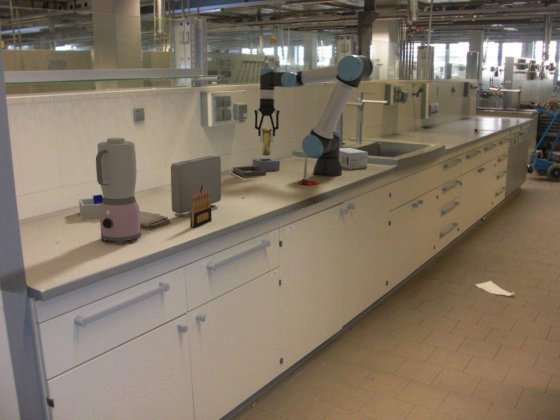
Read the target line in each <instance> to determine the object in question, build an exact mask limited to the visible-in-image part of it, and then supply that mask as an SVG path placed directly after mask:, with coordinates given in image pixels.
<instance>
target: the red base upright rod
mask: <svg viewBox="0 0 560 420" xmlns="http://www.w3.org/2000/svg"><path fill="white" fill-rule="evenodd" d="M303 167H304V169H303V178H302V179H301V180H298V181H297V184H298V185H303V186H311V185H315V186H316V185H318V184H319V182H318V181H316V180H310V179H309V180H308V179H307V176H308V175H307V171H308V169H307V168H308V158H307V157H306V158H304V165H303Z"/></svg>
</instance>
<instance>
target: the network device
mask: <svg viewBox="0 0 560 420" xmlns="http://www.w3.org/2000/svg"><path fill="white" fill-rule="evenodd" d="M221 162H222V160H221V156H217V155H207V156H201V157H196V158H192V159H187V160H181V161H177V162H173V163H171V165H170V183H171V184H170V186H171V187H170V188H171V189H170V190H171V191H170V192H171V211H172V212H173V213H175V214H174V215H175V216H177V217H182V218H190V214H185V213H188V212H191V204H192V195H193V193H194V195H195V194H196V192H197V194H198V192H199V191H200V194H201V191H203V193H204V190H206V192H207V189H208V190H209V196H210V207H211V212H212V211H215V210H218V209H219V206H218V205H217V204H216V203H218V202H221V199H222V177H221V176H222V175H221V173H222V167H221V165H222V164H221ZM215 204H216V205H215Z"/></svg>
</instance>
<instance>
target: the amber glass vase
mask: <svg viewBox="0 0 560 420" xmlns="http://www.w3.org/2000/svg"><path fill="white" fill-rule="evenodd" d="M261 130H262V144H261V145H262V149H261V150H262V151H261V152H262V156H265V157H266V156H272V155H271V154H272V153H271V151H272V150H271V149H272V143H271V131H272V130H273V128H268V127H267V128H266V127H265V128H262V127H261Z"/></svg>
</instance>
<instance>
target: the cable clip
mask: <svg viewBox="0 0 560 420" xmlns="http://www.w3.org/2000/svg"><path fill="white" fill-rule="evenodd" d="M92 198H93V199H94V204H101V203H102V201H103V194H96V195H92Z"/></svg>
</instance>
